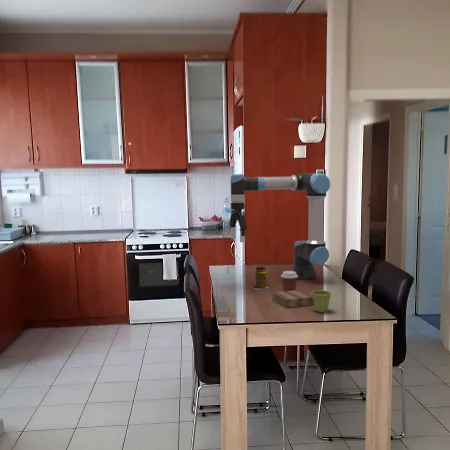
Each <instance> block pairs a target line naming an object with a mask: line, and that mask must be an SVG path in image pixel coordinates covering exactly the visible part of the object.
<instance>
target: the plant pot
mask: <svg viewBox="0 0 450 450" xmlns="http://www.w3.org/2000/svg"><path fill="white" fill-rule="evenodd" d="M310 293H311V296H313V300H314V305H313V306H314V311H315V312H318V313H326V312H328V311H329V307H330V306H329V305H330V300H331V299H330V298H331V295H332V292H331V291H328V290H322V289H321V290H318V289H317V290H313V291H311V292H310Z"/></svg>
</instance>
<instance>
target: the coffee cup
mask: <svg viewBox="0 0 450 450" xmlns="http://www.w3.org/2000/svg"><path fill="white" fill-rule="evenodd" d="M297 277H298V275H297V274H296V272H294V271H292V270H285V271H283V272H282V274H280V278H281V281H282V282H281V283H282V292H283V291H292V290H297V280H298V279H297Z"/></svg>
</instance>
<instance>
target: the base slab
mask: <svg viewBox="0 0 450 450" xmlns="http://www.w3.org/2000/svg"><path fill="white" fill-rule="evenodd" d="M272 301H273V302H276V303H277V304H278V305H280V306H282V307H283V308H285V309H291V308H298V307H307V306H314V300H313V296H312V294H308V293H307V292H304V291H302V290H300V289H296V290H292V291H283V290H282V291H276V292H272Z"/></svg>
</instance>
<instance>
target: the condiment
mask: <svg viewBox="0 0 450 450" xmlns="http://www.w3.org/2000/svg"><path fill="white" fill-rule="evenodd" d="M250 288H251V289H254V290H257V291H259V290H263V289H264V290H265V289H269V288H270V287H268V286H267V271H266V266H264V265H257V266H256V270H255V285H254V286H250Z"/></svg>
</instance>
